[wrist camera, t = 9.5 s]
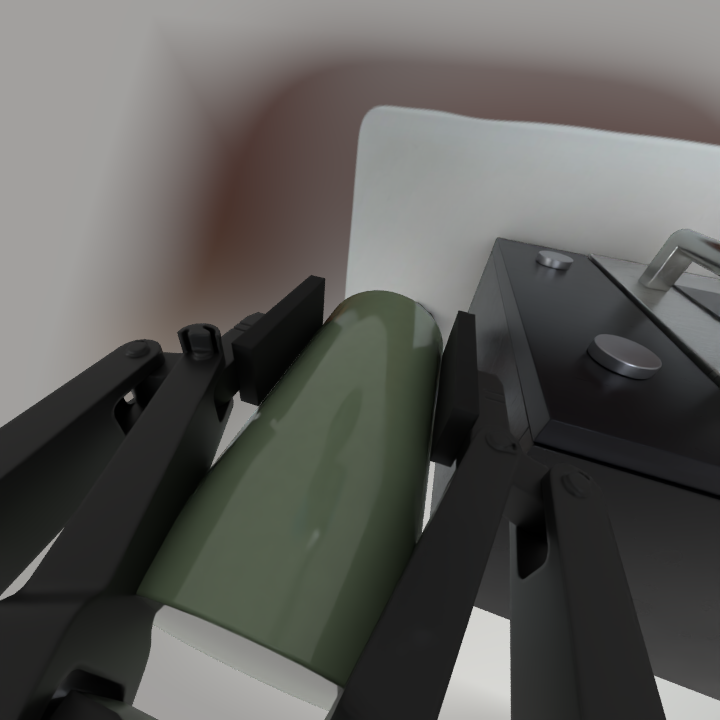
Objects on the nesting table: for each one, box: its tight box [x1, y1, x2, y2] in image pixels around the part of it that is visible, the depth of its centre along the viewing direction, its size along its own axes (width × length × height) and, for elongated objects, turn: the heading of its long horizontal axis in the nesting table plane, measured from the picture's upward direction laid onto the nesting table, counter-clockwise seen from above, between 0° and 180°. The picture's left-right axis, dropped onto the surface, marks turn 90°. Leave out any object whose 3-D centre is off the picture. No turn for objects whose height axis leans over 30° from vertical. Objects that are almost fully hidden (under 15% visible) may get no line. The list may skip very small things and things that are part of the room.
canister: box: [136, 290, 443, 711], centre depth 12 cm, size 7×7×14 cm
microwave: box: [430, 238, 720, 700], centre depth 28 cm, size 22×40×31 cm, turn 83°
